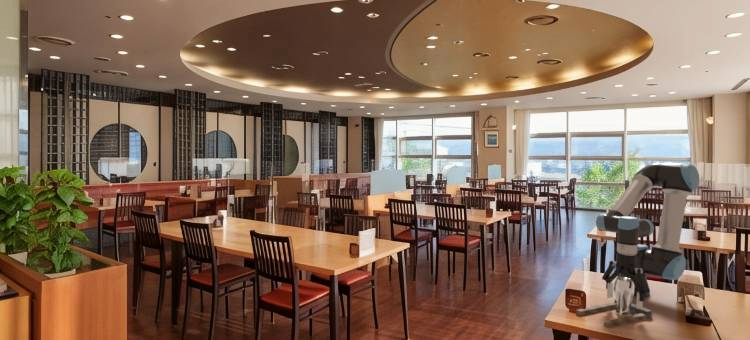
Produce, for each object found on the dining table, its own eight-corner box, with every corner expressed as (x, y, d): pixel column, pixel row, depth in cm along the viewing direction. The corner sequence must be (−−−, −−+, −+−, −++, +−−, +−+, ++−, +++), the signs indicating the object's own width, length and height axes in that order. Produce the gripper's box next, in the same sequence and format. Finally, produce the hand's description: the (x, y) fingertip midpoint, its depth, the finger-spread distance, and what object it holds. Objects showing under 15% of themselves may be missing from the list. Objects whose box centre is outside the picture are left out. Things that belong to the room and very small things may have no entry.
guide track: (618, 305, 195) (619, 298, 195) (651, 317, 182) (652, 310, 181) (576, 313, 184) (576, 307, 184) (608, 328, 171) (608, 320, 170)
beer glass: (635, 317, 181) (637, 282, 180) (617, 316, 183) (619, 281, 182) (629, 311, 188) (631, 277, 187) (611, 309, 190) (613, 276, 189)
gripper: (594, 247, 193) (592, 294, 195) (649, 261, 171) (646, 314, 172) (606, 245, 197) (604, 292, 198) (662, 259, 174) (658, 311, 175)
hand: (624, 302), depth 185 cm, fingers open, 13 cm apart
